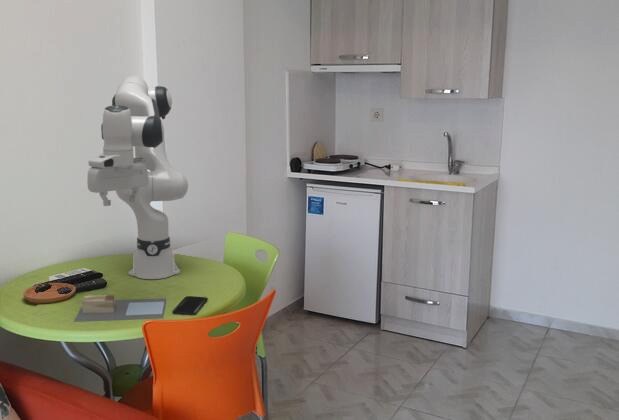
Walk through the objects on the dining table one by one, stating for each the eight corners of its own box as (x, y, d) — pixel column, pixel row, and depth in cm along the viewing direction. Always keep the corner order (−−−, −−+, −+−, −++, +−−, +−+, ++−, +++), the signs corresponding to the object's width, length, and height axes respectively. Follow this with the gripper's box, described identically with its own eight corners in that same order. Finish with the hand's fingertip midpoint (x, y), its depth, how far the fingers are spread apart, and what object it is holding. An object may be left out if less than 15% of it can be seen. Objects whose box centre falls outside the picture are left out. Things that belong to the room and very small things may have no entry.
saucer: (75, 288, 213) (75, 280, 213) (76, 304, 199) (75, 295, 198) (25, 293, 207) (24, 284, 207) (22, 309, 193) (21, 300, 192)
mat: (84, 302, 199) (84, 300, 199) (166, 299, 204) (166, 297, 204) (73, 323, 182) (73, 321, 182) (163, 320, 186) (163, 318, 186)
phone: (208, 297, 205) (195, 313, 190) (208, 300, 205) (195, 316, 191) (185, 295, 206) (170, 311, 191) (185, 299, 206) (170, 315, 191)
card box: (85, 307, 193) (85, 295, 192) (115, 306, 195) (114, 294, 194) (82, 313, 188) (82, 300, 187) (113, 312, 190) (112, 299, 189)
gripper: (139, 156, 197) (140, 198, 200) (83, 160, 181) (85, 206, 184) (152, 157, 194) (153, 200, 196) (96, 162, 177) (98, 209, 180)
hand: (120, 203), depth 190 cm, fingers open, 8 cm apart
